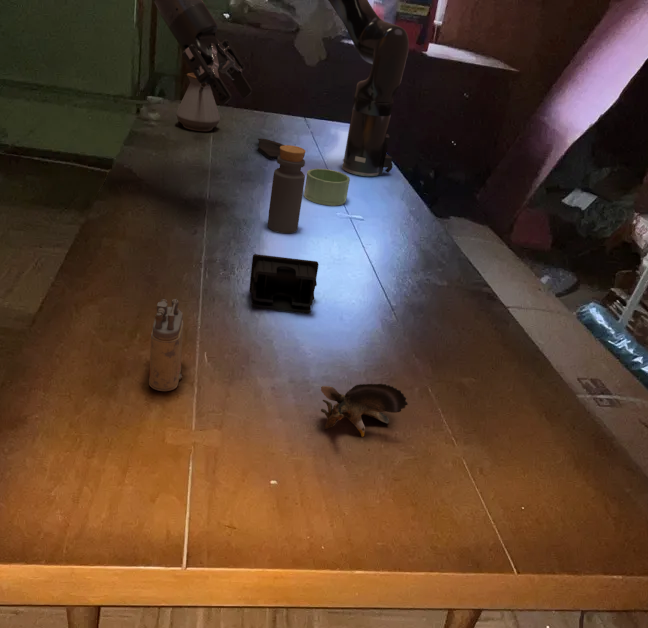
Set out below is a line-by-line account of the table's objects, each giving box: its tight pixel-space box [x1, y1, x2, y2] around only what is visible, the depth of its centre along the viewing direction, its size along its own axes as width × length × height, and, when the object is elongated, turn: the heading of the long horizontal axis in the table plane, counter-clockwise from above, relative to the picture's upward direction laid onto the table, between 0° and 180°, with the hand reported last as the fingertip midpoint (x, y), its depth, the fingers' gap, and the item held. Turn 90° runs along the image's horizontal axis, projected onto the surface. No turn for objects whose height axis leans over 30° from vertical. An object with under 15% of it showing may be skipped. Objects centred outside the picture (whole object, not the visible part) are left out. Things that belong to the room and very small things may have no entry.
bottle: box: [267, 144, 306, 234], centre depth 136 cm, size 6×6×15 cm
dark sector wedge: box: [257, 138, 284, 161], centre depth 183 cm, size 8×14×2 cm, turn 23°
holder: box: [303, 168, 351, 207], centre depth 158 cm, size 9×9×5 cm
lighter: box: [148, 298, 185, 392], centre depth 88 cm, size 7×4×10 cm, turn 2°
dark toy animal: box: [320, 383, 409, 438], centre depth 87 cm, size 8×7×9 cm
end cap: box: [248, 253, 319, 315], centre depth 112 cm, size 10×7×7 cm
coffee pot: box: [175, 72, 221, 132], centre depth 185 cm, size 21×12×15 cm, turn 10°
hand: (238, 98), depth 131 cm, fingers open, 8 cm apart
